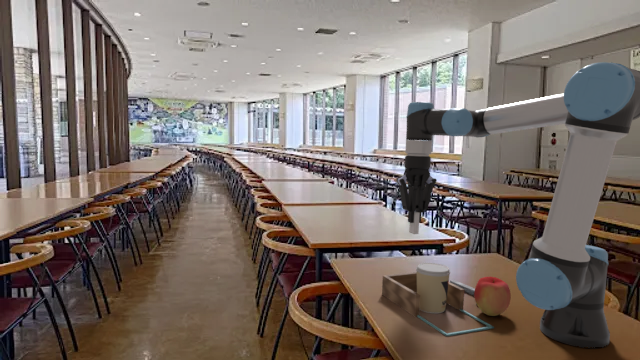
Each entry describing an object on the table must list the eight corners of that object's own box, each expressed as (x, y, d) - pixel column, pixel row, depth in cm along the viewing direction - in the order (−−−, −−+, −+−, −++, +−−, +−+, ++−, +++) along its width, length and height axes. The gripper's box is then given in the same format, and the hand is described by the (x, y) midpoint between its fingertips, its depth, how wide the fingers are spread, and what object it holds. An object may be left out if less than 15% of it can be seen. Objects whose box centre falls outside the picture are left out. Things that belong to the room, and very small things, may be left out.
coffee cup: (449, 316, 121) (451, 273, 120) (414, 312, 123) (416, 270, 121) (446, 304, 130) (449, 264, 129) (414, 300, 132) (416, 261, 131)
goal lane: (493, 328, 114) (493, 326, 114) (446, 336, 108) (446, 334, 108) (461, 310, 125) (461, 308, 125) (417, 316, 120) (417, 315, 120)
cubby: (463, 310, 126) (464, 289, 125) (415, 317, 120) (416, 295, 119) (425, 289, 142) (426, 271, 142) (381, 294, 136) (382, 275, 136)
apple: (465, 309, 126) (467, 275, 125) (492, 306, 129) (494, 272, 128) (489, 323, 117) (492, 286, 116) (517, 319, 120) (520, 283, 119)
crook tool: (497, 303, 132) (497, 297, 131) (480, 307, 128) (481, 301, 128) (453, 285, 147) (453, 280, 147) (437, 287, 144) (438, 282, 144)
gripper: (428, 154, 137) (424, 229, 140) (392, 154, 133) (388, 231, 135) (444, 156, 130) (439, 234, 133) (406, 155, 126) (401, 237, 128)
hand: (413, 233), depth 134 cm, fingers closed
